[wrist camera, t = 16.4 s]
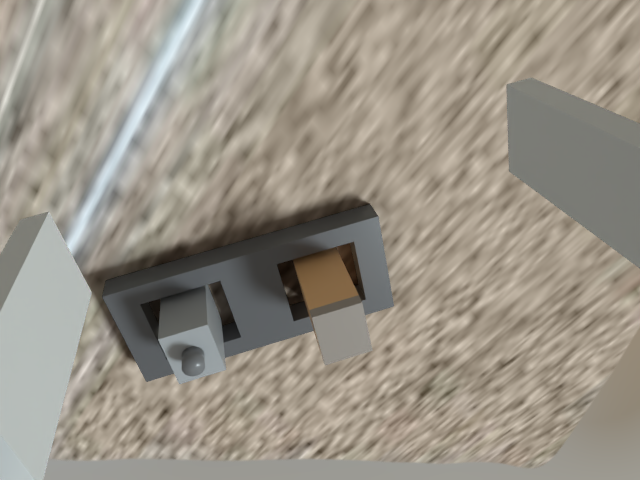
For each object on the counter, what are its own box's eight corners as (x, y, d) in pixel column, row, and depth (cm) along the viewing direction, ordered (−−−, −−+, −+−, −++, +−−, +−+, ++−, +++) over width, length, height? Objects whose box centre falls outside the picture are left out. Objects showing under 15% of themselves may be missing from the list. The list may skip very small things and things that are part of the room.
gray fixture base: (148, 363, 53) (141, 432, 46) (105, 280, 48) (91, 343, 40) (385, 291, 55) (416, 346, 47) (370, 204, 50) (401, 250, 42)
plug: (302, 295, 53) (324, 365, 44) (290, 252, 50) (311, 317, 42) (342, 283, 53) (372, 350, 45) (332, 239, 51) (362, 302, 42)
